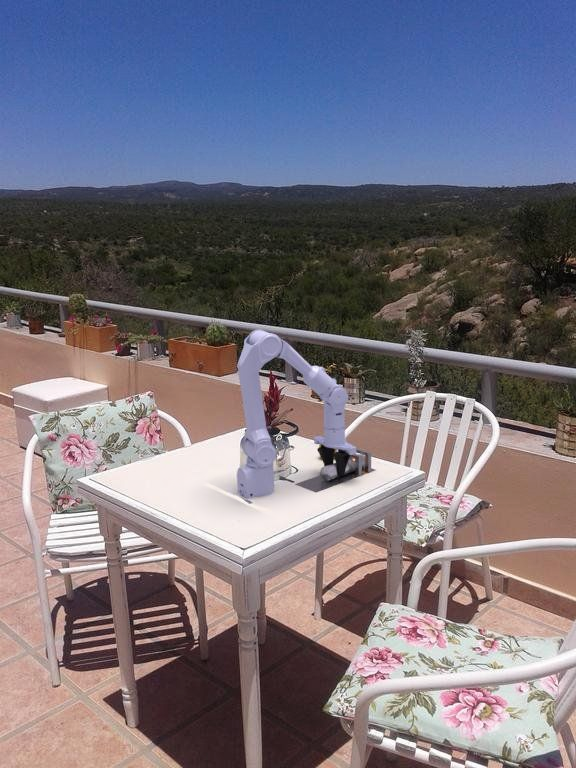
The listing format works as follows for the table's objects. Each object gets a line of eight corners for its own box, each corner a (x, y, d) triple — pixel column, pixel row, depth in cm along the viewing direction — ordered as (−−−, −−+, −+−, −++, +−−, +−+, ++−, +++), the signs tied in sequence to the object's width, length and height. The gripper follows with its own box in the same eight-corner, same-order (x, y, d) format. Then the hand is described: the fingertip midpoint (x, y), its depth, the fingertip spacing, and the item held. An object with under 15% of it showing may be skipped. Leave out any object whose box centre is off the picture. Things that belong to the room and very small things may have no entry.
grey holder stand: (316, 496, 174) (315, 471, 172) (294, 488, 180) (293, 464, 179) (376, 473, 189) (376, 450, 187) (354, 466, 195) (354, 444, 194)
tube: (330, 482, 180) (330, 469, 179) (320, 478, 183) (320, 465, 182) (367, 469, 190) (367, 456, 189) (357, 465, 193) (357, 452, 192)
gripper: (363, 428, 178) (364, 476, 181) (326, 418, 189) (327, 463, 192) (345, 434, 173) (346, 482, 176) (308, 423, 184) (309, 469, 187)
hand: (335, 473), depth 184 cm, fingers closed on tube, 4 cm apart
